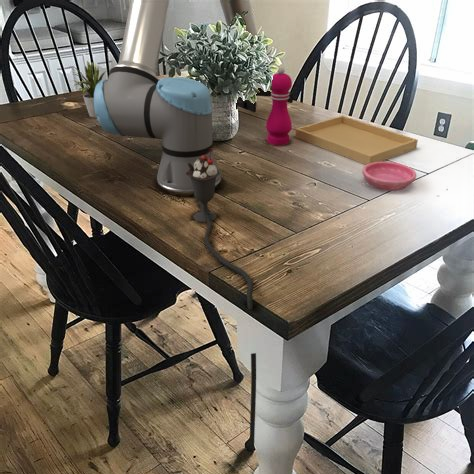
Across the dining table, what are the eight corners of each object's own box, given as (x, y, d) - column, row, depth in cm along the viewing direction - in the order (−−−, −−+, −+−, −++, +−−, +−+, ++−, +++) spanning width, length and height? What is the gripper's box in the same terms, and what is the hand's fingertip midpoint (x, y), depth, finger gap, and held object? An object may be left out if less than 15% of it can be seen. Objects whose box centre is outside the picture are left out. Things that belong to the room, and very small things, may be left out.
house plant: (68, 110, 179) (59, 57, 169) (110, 105, 184) (103, 53, 174) (77, 123, 168) (68, 67, 159) (121, 117, 173) (115, 62, 164)
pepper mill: (283, 148, 151) (287, 71, 139) (260, 143, 154) (262, 68, 142) (295, 140, 156) (299, 66, 144) (273, 135, 159) (275, 62, 147)
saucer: (401, 171, 137) (403, 159, 135) (423, 192, 127) (426, 179, 125) (353, 174, 135) (355, 162, 133) (372, 196, 125) (374, 183, 123)
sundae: (227, 216, 117) (226, 148, 108) (204, 227, 113) (201, 157, 104) (205, 207, 121) (203, 140, 112) (183, 217, 117) (178, 149, 108)
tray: (416, 148, 150) (418, 139, 149) (369, 165, 140) (370, 156, 139) (341, 123, 168) (342, 115, 166) (294, 137, 158) (295, 128, 156)
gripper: (258, 92, 172) (305, 107, 159) (193, 107, 160) (238, 125, 146) (258, 67, 168) (307, 81, 154) (191, 80, 155) (238, 96, 142)
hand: (274, 102), depth 150 cm, fingers open, 13 cm apart
